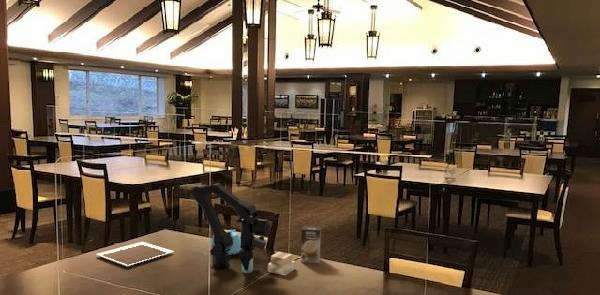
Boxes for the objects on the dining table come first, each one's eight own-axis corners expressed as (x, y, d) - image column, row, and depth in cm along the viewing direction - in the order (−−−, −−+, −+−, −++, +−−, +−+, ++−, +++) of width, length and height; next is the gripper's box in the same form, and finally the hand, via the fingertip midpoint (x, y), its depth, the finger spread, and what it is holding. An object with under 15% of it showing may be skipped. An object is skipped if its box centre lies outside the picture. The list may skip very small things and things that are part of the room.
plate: (142, 244, 237) (142, 241, 237) (174, 254, 222) (174, 250, 222) (95, 258, 216) (95, 253, 216) (127, 269, 201) (127, 265, 201)
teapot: (235, 244, 239) (235, 224, 238) (250, 252, 227) (250, 231, 226) (209, 250, 229) (209, 229, 228) (223, 258, 218) (223, 236, 217)
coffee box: (300, 262, 213) (300, 229, 211) (301, 258, 219) (302, 225, 217) (319, 263, 212) (320, 230, 210) (320, 258, 218) (321, 226, 217)
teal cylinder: (239, 271, 200) (239, 258, 199) (245, 268, 204) (245, 255, 203) (248, 273, 197) (248, 260, 197) (255, 270, 202) (255, 257, 201)
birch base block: (267, 272, 200) (267, 263, 200) (277, 266, 208) (277, 258, 208) (285, 276, 196) (285, 267, 196) (295, 269, 204) (295, 261, 204)
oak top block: (270, 263, 200) (270, 256, 200) (278, 259, 206) (278, 251, 206) (284, 266, 197) (284, 258, 196) (292, 261, 203) (292, 254, 203)
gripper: (264, 238, 190) (264, 274, 192) (265, 227, 209) (265, 259, 210) (238, 238, 190) (238, 274, 191) (241, 227, 208) (241, 259, 210)
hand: (247, 266), depth 201 cm, fingers open, 9 cm apart
